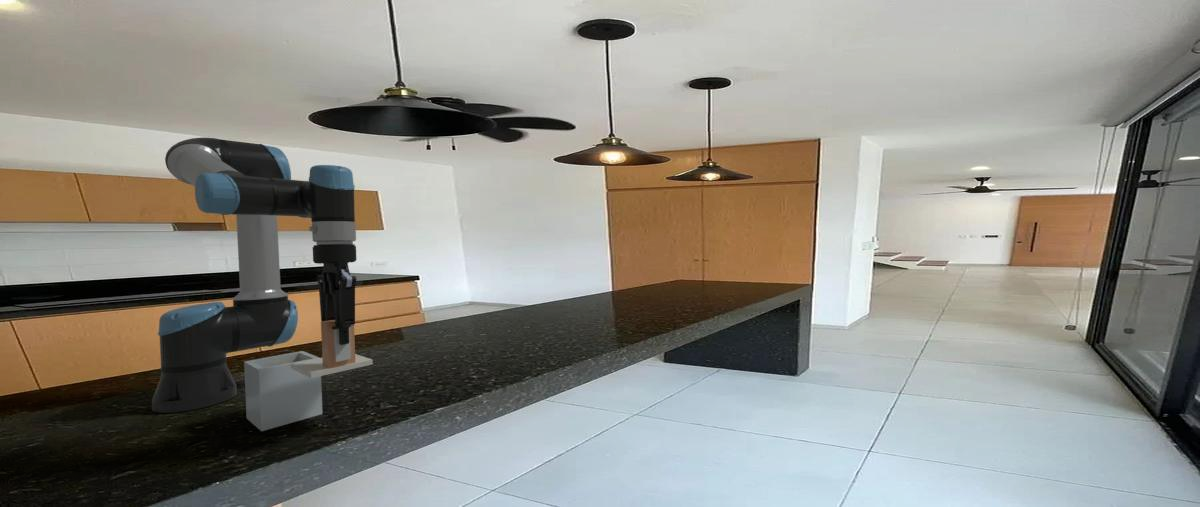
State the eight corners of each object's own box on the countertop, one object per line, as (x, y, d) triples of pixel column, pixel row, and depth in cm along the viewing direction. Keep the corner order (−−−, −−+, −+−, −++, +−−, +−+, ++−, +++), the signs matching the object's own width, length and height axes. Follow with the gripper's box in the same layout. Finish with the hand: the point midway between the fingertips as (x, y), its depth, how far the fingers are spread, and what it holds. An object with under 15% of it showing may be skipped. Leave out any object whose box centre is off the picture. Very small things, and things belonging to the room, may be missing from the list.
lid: (290, 368, 90) (288, 320, 90) (349, 356, 99) (348, 312, 99) (311, 378, 83) (309, 326, 83) (372, 364, 92) (371, 317, 92)
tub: (246, 418, 95) (244, 361, 95) (304, 403, 104) (302, 350, 103) (261, 431, 88) (259, 370, 88) (322, 413, 97) (320, 358, 97)
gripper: (299, 244, 90) (303, 357, 91) (329, 243, 80) (334, 369, 81) (338, 243, 96) (342, 349, 97) (371, 242, 86) (376, 360, 87)
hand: (339, 358), depth 89 cm, fingers closed on lid, 3 cm apart
